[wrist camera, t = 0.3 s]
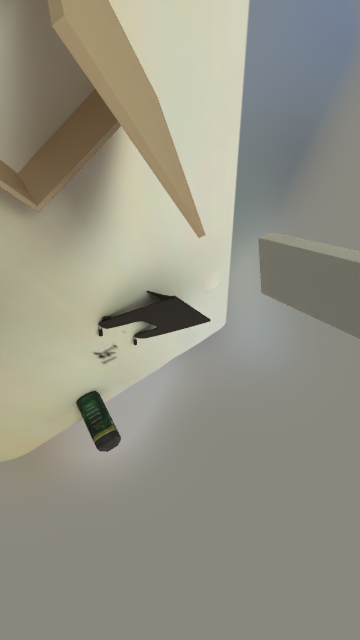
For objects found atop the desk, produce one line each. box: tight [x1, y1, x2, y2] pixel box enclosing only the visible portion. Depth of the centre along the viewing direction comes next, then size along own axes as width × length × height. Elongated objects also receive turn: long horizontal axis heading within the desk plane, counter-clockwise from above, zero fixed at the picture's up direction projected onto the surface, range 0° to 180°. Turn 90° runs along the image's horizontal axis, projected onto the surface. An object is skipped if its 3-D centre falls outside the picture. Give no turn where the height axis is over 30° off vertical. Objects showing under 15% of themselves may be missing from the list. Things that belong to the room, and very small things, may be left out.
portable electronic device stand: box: [99, 291, 210, 345], centre depth 77 cm, size 23×23×9 cm
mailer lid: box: [47, 0, 205, 238], centre depth 21 cm, size 16×18×1 cm
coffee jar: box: [77, 391, 121, 452], centre depth 98 cm, size 10×8×19 cm
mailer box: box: [0, 0, 121, 212], centre depth 28 cm, size 16×18×8 cm
